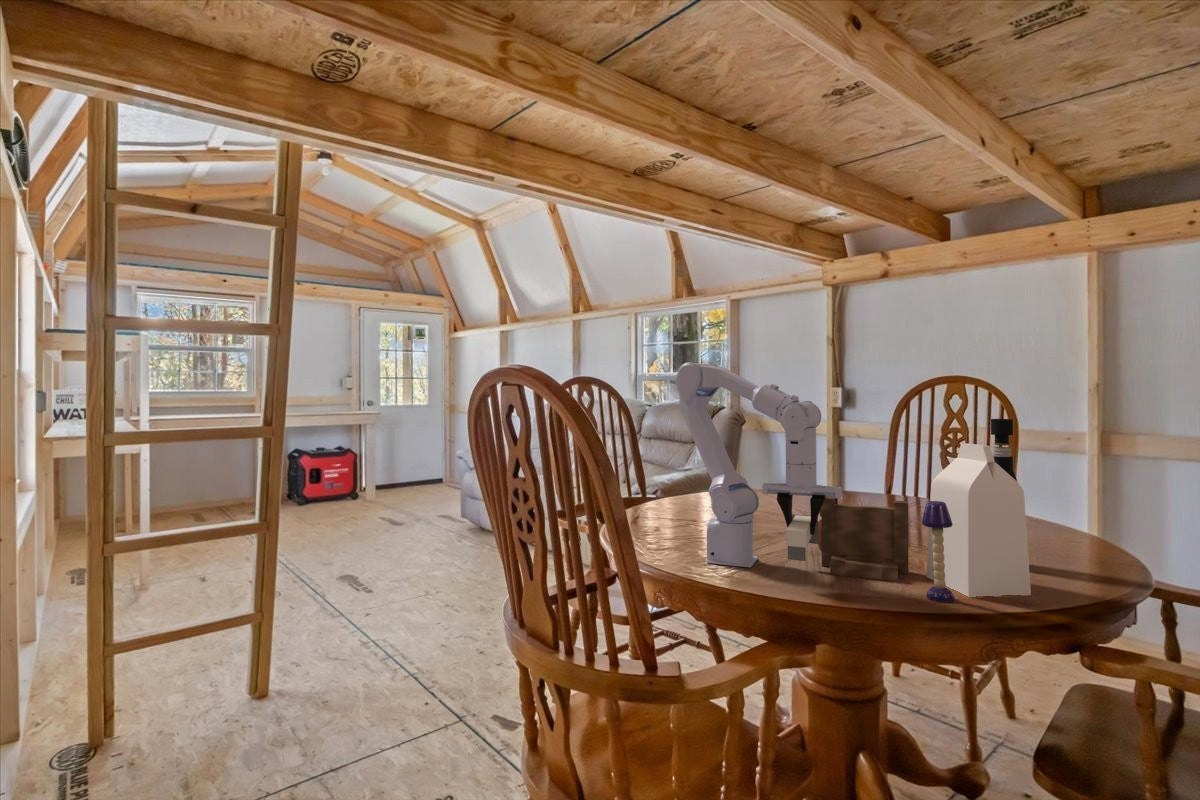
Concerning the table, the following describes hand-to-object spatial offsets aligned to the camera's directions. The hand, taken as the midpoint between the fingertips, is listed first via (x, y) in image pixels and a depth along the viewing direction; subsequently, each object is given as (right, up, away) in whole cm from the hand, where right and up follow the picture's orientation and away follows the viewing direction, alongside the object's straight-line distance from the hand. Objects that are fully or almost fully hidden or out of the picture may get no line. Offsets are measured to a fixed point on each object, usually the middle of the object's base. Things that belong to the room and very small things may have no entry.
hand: (801, 532), depth 119 cm
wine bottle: (+44, -8, +7) cm, 45 cm away
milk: (+30, -9, -7) cm, 32 cm away
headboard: (+13, -8, +2) cm, 16 cm away
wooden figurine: (+12, -8, +17) cm, 22 cm away
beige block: (0, -3, -1) cm, 4 cm away
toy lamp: (+19, -9, -13) cm, 25 cm away
